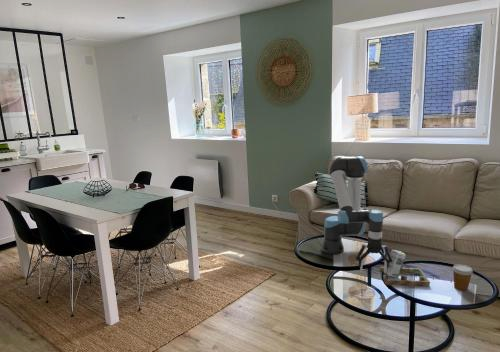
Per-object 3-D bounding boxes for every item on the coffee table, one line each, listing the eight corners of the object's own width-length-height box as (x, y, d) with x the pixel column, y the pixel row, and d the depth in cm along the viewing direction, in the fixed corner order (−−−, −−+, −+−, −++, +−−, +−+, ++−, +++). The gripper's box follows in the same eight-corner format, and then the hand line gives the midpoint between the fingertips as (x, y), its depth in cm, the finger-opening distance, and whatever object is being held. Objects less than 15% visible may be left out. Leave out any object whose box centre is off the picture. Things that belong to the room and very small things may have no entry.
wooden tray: (385, 285, 204) (386, 280, 203) (379, 271, 220) (379, 266, 219) (429, 287, 201) (429, 281, 200) (419, 273, 217) (420, 268, 216)
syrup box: (390, 276, 210) (398, 252, 208) (384, 272, 215) (392, 248, 214) (398, 277, 212) (406, 254, 210) (391, 273, 217) (399, 250, 216)
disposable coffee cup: (464, 283, 203) (466, 263, 201) (475, 292, 194) (477, 271, 192) (447, 284, 203) (449, 264, 201) (457, 293, 194) (459, 272, 191)
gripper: (353, 238, 208) (352, 273, 212) (399, 240, 205) (397, 276, 209) (351, 234, 216) (350, 268, 220) (396, 235, 212) (393, 270, 216)
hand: (373, 272), depth 214 cm, fingers open, 13 cm apart
